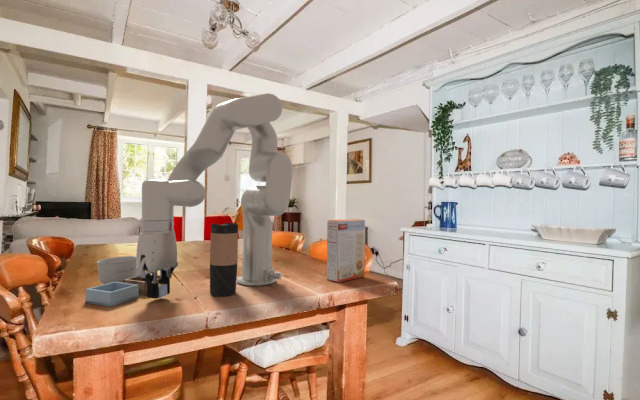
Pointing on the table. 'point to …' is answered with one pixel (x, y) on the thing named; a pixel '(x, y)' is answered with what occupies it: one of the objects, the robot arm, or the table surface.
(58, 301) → the table surface
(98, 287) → the slate box
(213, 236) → the travel mug
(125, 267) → the grey piece
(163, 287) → the alphabet block
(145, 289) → the walnut box
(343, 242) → the cracker box
